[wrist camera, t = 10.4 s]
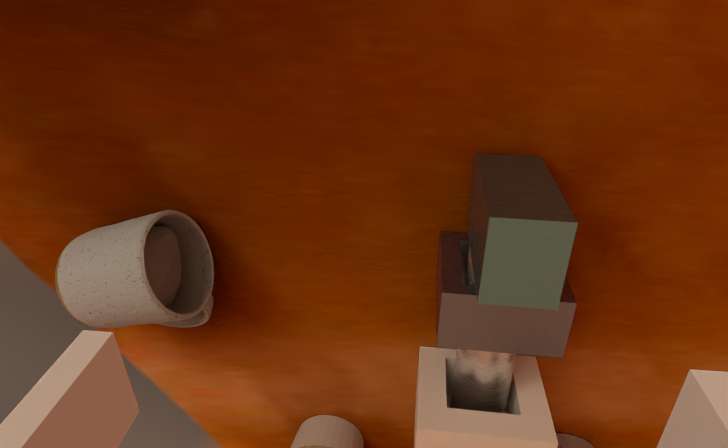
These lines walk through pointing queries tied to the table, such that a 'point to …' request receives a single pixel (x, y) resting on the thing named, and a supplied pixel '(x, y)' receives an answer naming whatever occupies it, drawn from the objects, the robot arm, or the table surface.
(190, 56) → the table surface
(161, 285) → the ceramic mug
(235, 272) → the table surface
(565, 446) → the thermos bottle
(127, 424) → the robot arm
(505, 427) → the socket block
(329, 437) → the coffee cup
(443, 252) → the square hollow collar
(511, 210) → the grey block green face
